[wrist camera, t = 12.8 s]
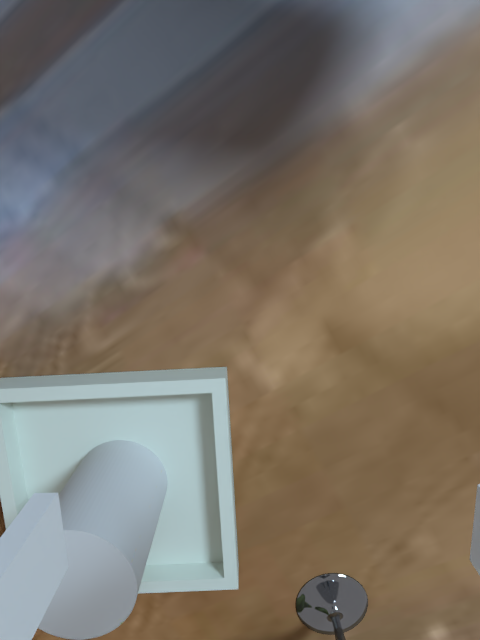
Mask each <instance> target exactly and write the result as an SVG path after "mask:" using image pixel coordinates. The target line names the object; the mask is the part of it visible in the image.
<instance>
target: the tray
mask: <svg viewBox="0 0 480 640" xmlns="http://www.w3.org/2000/svg"><path fill="white" fill-rule="evenodd" d="M113 440H127V441H132V442H136V443H139V444H141V445H143V446H145V447H147V448H148V449H150V450H151V451H152V452H153V453H154V454H155V455H156V456H157V457H158V458H159V459H160V461H161V462H162V464H163V466H164V468H165V471H166V474H167V481H168V485H167V492H166V495H165V499H164V502H163V506H162V510H161V513H160V517H159V520H158V524H157V527H156V531H155V534H154V538H153V541H152V545H151V548H150V552H149V555H148V559H147V563H146V566H145V570H144V573H143V577H142V580H141V584H140V587H139V591H138V593H160V592H183V591H206V590H230V589H238V548H237V531H236V514H235V497H234V481H233V464H232V447H231V430H230V413H229V397H228V380H227V367H216V368H195V369H175V370H154V371H133V372H113V373H92V374H71V375H51V376H30V377H9V378H0V498H1V504H2V509H3V515H4V521H5V526H6V529H7V528H8V527H9V526H10V524H11V523H12V522H13V520H14V519H15V518H16V516H17V515H18V514H19V512H20V511H21V510H22V508H23V507H24V506H25V504H26V503H27V502H28V500H29V499H30V498H31V497H32V495H33V494H34V493H58V495H59V494H60V492H61V491H62V489H63V488H64V486H65V485H66V483H67V482H68V480H69V479H70V478H71V476H72V475H73V473H74V472H75V470H76V469H77V467H78V466H79V464H80V463H81V462H82V460H83V459H84V457H85V456H86V455H87V454H88V452H90V451H91V450H92V449H93V448H95V447H96V446H98V445H100V444H102V443H105V442H108V441H113Z"/></svg>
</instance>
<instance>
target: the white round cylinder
mask: <svg viewBox="0 0 480 640" xmlns="http://www.w3.org/2000/svg"><path fill="white" fill-rule="evenodd" d="M167 485H168V481H167V474H166V471H165V468H164V466H163V464H162V462H161V461H160V459H159V458H158V457H157V456H156V455H155V454H154V453H153V452H152V451H151V450H150V449H148V448H147V447H145V446H143V445H141V444H139V443H136V442H132V441H127V440H113V441H108V442H105V443H102V444H100V445H98V446H96V447H95V448H93V449H92V450H91V451H90V452H88V454H87V455H86V456H85V457H84V459H83V460H82V462H81V463H80V464H79V466H78V467H77V469H76V470H75V472H74V473H73V475H72V476H71V478H70V479H69V480H68V482H67V483H66V485H65V486H64V488H63V489H62V491H61V492H60V494H59V502H60V509H61V516H62V523H63V530H64V537H65V545H66V552H67V559H68V568H67V570H66V572H65V574H64V576H63V578H62V580H61V582H60V584H59V586H58V588H57V590H56V592H55V594H54V596H53V598H52V600H51V602H50V604H49V606H48V608H47V610H46V612H45V614H44V616H43V618H42V620H41V622H40V624H39V626H38V628H39V629H41V630H43V631H44V632H47V633H49V634H51V635H54V636H57V637H61V638H66V639H77V640H80V639H90V638H95V637H99V636H102V635H104V634H107V633H109V632H111V631H112V630H114V629H116V628H117V627H118V626H120V625H121V624H122V623H123V622H124V621H125V620H126V619H127V617H128V616H129V615H130V613H131V611H132V609H133V607H134V605H135V601H136V598H137V594H138V591H139V587H140V584H141V580H142V577H143V573H144V570H145V566H146V563H147V559H148V555H149V552H150V548H151V545H152V541H153V538H154V534H155V531H156V527H157V524H158V520H159V517H160V513H161V510H162V506H163V502H164V499H165V495H166V492H167Z"/></svg>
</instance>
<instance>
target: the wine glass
mask: <svg viewBox="0 0 480 640" xmlns="http://www.w3.org/2000/svg"><path fill="white" fill-rule="evenodd" d="M367 607H368V598H367V594H366V592H365V590H364V588H363V587H362V585H361V584H360V583H359V582H358V581H356V580H355V579H353V578H352V577H349V576H347V575H344V574H338V573H328V574H323V575H320V576H317V577H315V578H313V579H311V580H310V581H308V582H307V583H306V584H305V585H304V586H303V587H302V589H301V590H300V592H299V594H298V596H297V600H296V610H297V614H298V616H299V618H300V620H301V621H302V622H303V624H304V625H306V626H307V627H308V628H309V629H311V630H313V631H315V632H317V633H321V634H327V635H335V639H336V640H346V639H345V636H344V632H347V631H349V630H351V629H353V628H354V627H355V626H357V625H358V624H359V623H360V622H361V621H362V619H363V618H364V616H365V614H366V612H367Z"/></svg>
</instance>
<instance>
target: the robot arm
mask: <svg viewBox="0 0 480 640" xmlns="http://www.w3.org/2000/svg"><path fill="white" fill-rule="evenodd" d="M470 561H471V563H472V564H473V566H474V567H475V569H476V570H477V572H478V573H479V575H480V485H478V486H477V496H476V505H475V515H474V524H473V533H472V543H471V552H470ZM67 568H68V559H67V552H66V545H65V537H64V530H63V523H62V516H61V509H60V502H59V495H58V493H34V494H33V495H32V497H31V498H30V499H29V500H28V502H27V503H26V504H25V506H24V507H23V508H22V510H21V511H20V512H19V514H18V515H17V516H16V518H15V519H14V520H13V522H12V523H11V524H10V526H9V527H8V528H7V529H6V531H5V532H4V533H3V535H2V536H1V537H0V640H32V638H33V636H34V634H35V632H36V630H37V628H38V626H39V624H40V622H41V620H42V618H43V616H44V614H45V612H46V610H47V608H48V606H49V604H50V602H51V600H52V598H53V596H54V594H55V592H56V590H57V588H58V586H59V584H60V582H61V580H62V578H63V576H64V574H65V572H66V570H67Z"/></svg>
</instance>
